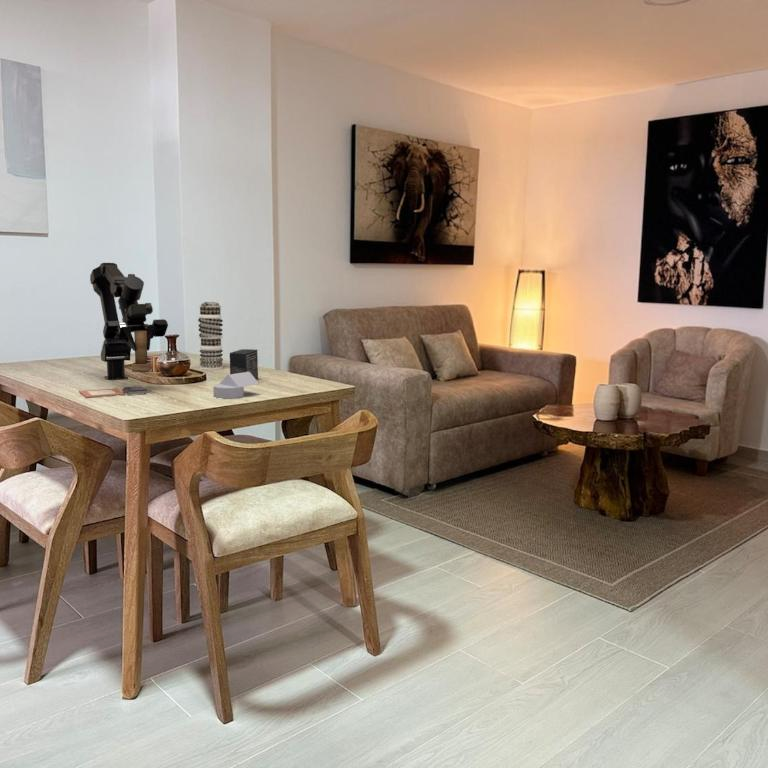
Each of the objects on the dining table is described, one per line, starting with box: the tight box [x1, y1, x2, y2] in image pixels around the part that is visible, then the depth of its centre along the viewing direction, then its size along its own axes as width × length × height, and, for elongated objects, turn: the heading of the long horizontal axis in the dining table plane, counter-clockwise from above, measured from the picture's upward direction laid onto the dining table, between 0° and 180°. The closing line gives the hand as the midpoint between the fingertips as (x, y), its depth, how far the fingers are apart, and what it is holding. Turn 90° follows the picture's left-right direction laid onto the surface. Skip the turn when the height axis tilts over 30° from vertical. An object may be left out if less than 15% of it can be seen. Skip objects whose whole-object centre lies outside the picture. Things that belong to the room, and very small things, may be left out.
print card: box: [78, 387, 126, 399], centre depth 222 cm, size 11×11×1 cm
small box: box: [229, 348, 259, 380], centre depth 250 cm, size 11×6×10 cm, turn 168°
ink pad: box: [122, 385, 150, 396], centre depth 225 cm, size 8×6×1 cm
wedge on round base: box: [213, 372, 260, 400], centre depth 223 cm, size 9×7×13 cm
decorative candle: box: [197, 301, 224, 371], centre depth 276 cm, size 9×9×25 cm
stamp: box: [130, 330, 153, 373], centre depth 224 cm, size 5×5×12 cm
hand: (142, 350), depth 223 cm, fingers closed on stamp, 4 cm apart
